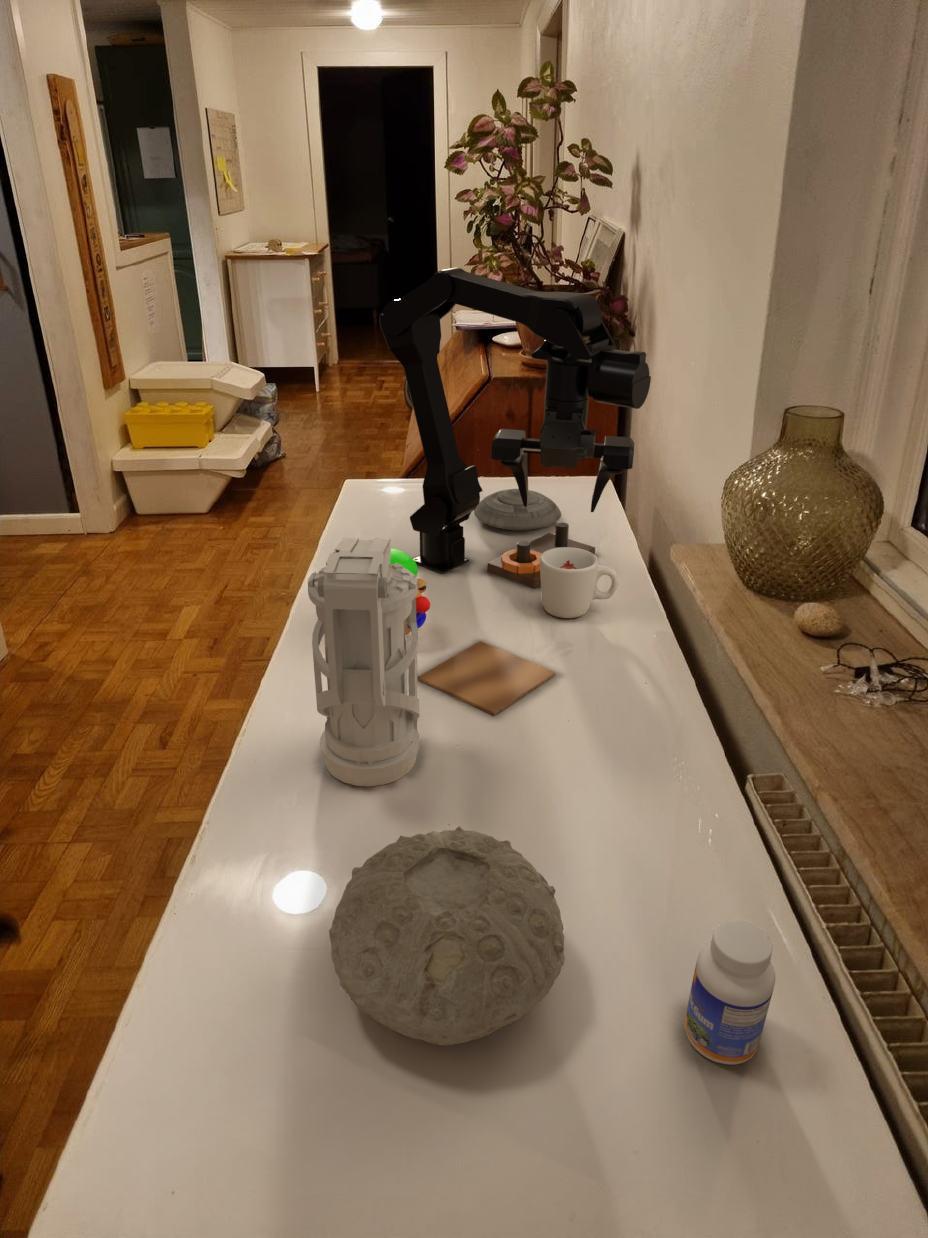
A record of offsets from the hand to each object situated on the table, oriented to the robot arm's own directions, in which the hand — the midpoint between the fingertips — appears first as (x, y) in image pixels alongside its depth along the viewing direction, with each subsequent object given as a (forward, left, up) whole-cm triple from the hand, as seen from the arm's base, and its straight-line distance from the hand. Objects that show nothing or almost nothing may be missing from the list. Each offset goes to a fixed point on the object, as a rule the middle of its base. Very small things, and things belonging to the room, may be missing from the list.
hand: (558, 508), depth 127 cm
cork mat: (+8, -25, -13) cm, 29 cm away
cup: (+6, -3, -13) cm, 15 cm away
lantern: (+10, -47, -13) cm, 49 cm away
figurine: (-8, -25, -13) cm, 29 cm away
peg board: (-7, +7, -13) cm, 17 cm away
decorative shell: (+34, -62, -13) cm, 71 cm away
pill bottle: (+53, -53, -13) cm, 76 cm away
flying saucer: (-21, +19, -13) cm, 32 cm away
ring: (-7, +2, -12) cm, 14 cm away
